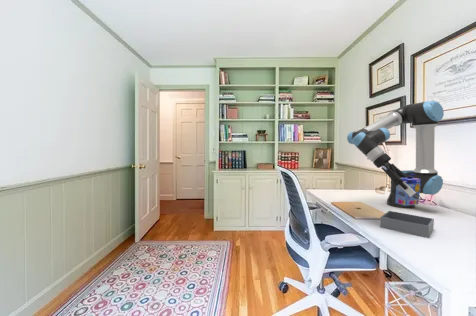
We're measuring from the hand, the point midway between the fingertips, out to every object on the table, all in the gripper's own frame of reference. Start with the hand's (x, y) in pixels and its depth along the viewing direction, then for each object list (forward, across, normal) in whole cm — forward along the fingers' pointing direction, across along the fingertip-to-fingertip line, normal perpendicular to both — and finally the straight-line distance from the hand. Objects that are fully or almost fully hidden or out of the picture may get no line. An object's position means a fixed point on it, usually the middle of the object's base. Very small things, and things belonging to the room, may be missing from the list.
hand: (415, 193), depth 106 cm
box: (+10, 0, -14) cm, 17 cm away
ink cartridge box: (+2, 0, -6) cm, 7 cm away
